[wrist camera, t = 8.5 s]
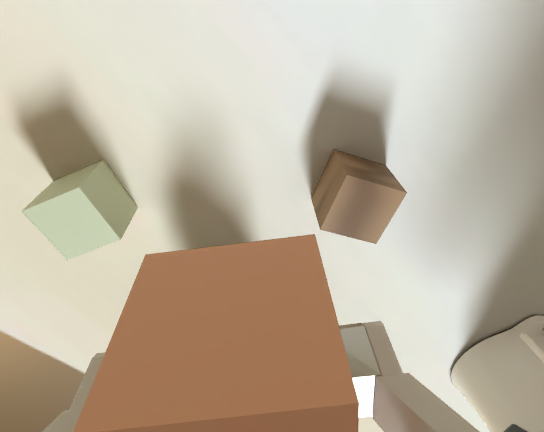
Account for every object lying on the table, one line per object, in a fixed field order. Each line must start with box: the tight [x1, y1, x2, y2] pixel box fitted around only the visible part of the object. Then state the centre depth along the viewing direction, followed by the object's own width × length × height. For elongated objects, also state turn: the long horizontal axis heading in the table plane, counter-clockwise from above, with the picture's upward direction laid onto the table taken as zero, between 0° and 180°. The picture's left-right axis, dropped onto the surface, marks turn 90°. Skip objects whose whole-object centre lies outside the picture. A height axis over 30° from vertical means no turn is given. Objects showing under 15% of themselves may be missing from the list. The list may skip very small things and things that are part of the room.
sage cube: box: [21, 160, 138, 260], centre depth 29 cm, size 5×5×5 cm
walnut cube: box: [312, 150, 407, 244], centre depth 29 cm, size 5×5×5 cm
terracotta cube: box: [73, 234, 359, 432], centre depth 10 cm, size 5×5×5 cm
